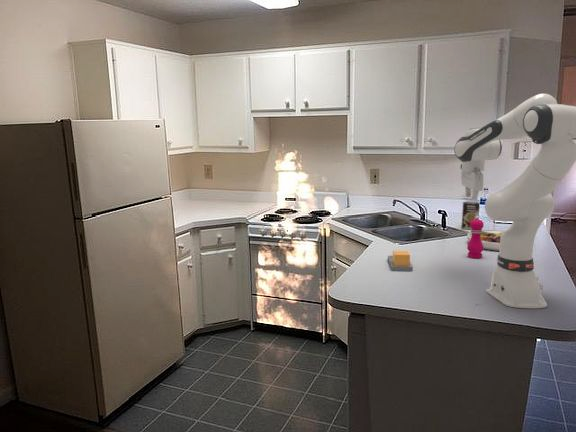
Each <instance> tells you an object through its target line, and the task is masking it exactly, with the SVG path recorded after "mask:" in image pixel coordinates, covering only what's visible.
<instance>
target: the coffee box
mask: <svg viewBox="0 0 576 432" xmlns="http://www.w3.org/2000/svg"><path fill="white" fill-rule="evenodd" d="M480 205H481V204H480V202H476V201H475V202H471V201H470V202H468V201H466V202H465V201H463V202H462V211H461V212H462V214H461V226H460V227H461V230H462V229H467V231H471V229H472V228H471V227H470V222H471V221H472V220H474V219H475V217H476V216H479V215H480ZM479 217H480V216H479Z"/></svg>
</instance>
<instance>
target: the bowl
mask: <svg viewBox="0 0 576 432" xmlns="http://www.w3.org/2000/svg"><path fill="white" fill-rule="evenodd" d="M504 231H505V230H496V229H482V233H481V241H482V244H483V250H487V251H496V252H499V250H500V237H501V235H502V233H503V232H504ZM471 237H472V232H471V231H470V232H468V233H467V240H468V243H469V242H470V240H471Z"/></svg>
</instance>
